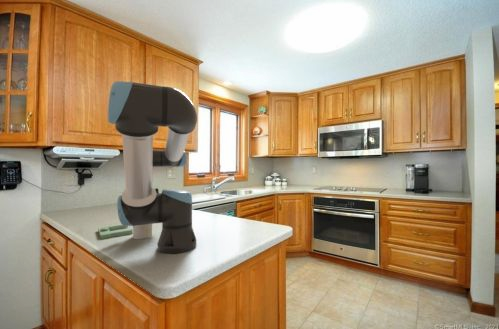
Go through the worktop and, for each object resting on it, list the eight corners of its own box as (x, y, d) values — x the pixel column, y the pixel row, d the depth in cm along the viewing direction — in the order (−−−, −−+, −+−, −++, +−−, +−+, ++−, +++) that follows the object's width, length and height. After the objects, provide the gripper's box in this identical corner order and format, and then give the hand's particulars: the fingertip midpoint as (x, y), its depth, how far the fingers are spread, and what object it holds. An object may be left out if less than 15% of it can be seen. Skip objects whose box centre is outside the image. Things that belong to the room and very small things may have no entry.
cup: (144, 239, 102) (144, 212, 102) (128, 238, 104) (128, 212, 104) (155, 234, 110) (155, 209, 110) (140, 233, 112) (140, 208, 112)
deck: (132, 233, 111) (132, 228, 111) (101, 239, 103) (101, 233, 103) (126, 226, 123) (126, 222, 123) (98, 231, 115) (98, 226, 115)
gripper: (166, 177, 118) (166, 218, 118) (110, 179, 102) (111, 226, 103) (171, 178, 112) (171, 221, 112) (113, 180, 96) (113, 230, 97)
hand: (142, 223), depth 107 cm, fingers open, 13 cm apart
